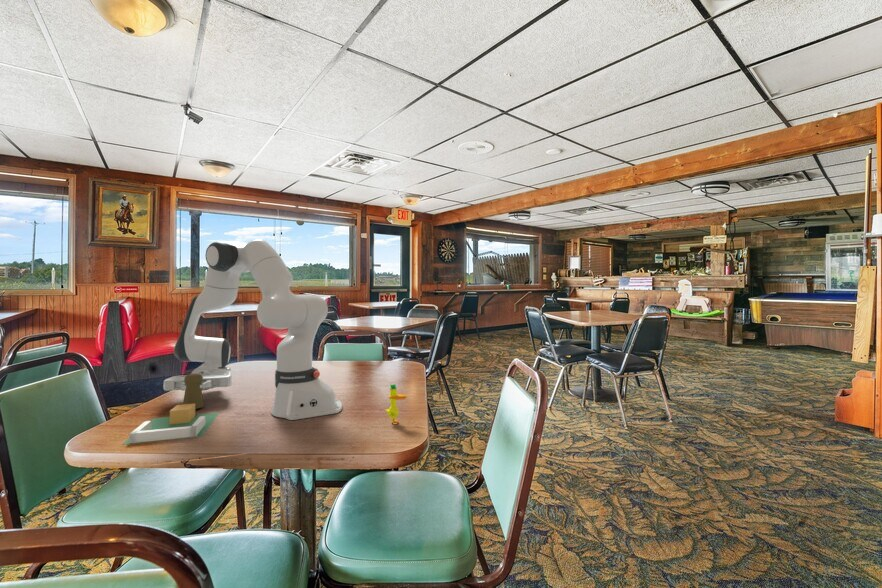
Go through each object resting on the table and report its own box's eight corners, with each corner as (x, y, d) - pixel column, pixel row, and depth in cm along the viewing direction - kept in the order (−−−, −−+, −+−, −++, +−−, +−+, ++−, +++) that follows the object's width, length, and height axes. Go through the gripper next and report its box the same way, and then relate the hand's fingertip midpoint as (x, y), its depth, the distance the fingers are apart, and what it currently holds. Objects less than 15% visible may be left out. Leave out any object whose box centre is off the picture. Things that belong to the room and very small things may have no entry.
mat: (219, 413, 121) (219, 412, 121) (201, 437, 102) (201, 436, 102) (153, 419, 115) (153, 418, 115) (121, 445, 97) (121, 444, 97)
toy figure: (406, 421, 116) (407, 382, 116) (406, 425, 113) (406, 386, 112) (385, 421, 116) (385, 382, 116) (383, 425, 112) (384, 386, 112)
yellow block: (195, 415, 118) (195, 403, 118) (189, 422, 112) (189, 409, 112) (176, 417, 116) (176, 404, 116) (169, 424, 111) (169, 411, 111)
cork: (193, 409, 120) (194, 375, 121) (177, 409, 121) (178, 375, 122) (208, 405, 126) (208, 372, 127) (192, 404, 127) (193, 372, 128)
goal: (205, 424, 111) (205, 415, 111) (195, 436, 102) (195, 427, 102) (145, 430, 106) (145, 421, 106) (129, 443, 97) (129, 433, 97)
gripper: (171, 370, 133) (155, 380, 120) (235, 367, 140) (227, 375, 127) (171, 388, 133) (155, 399, 120) (235, 383, 140) (227, 394, 127)
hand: (192, 387), depth 123 cm, fingers closed on cork, 4 cm apart
